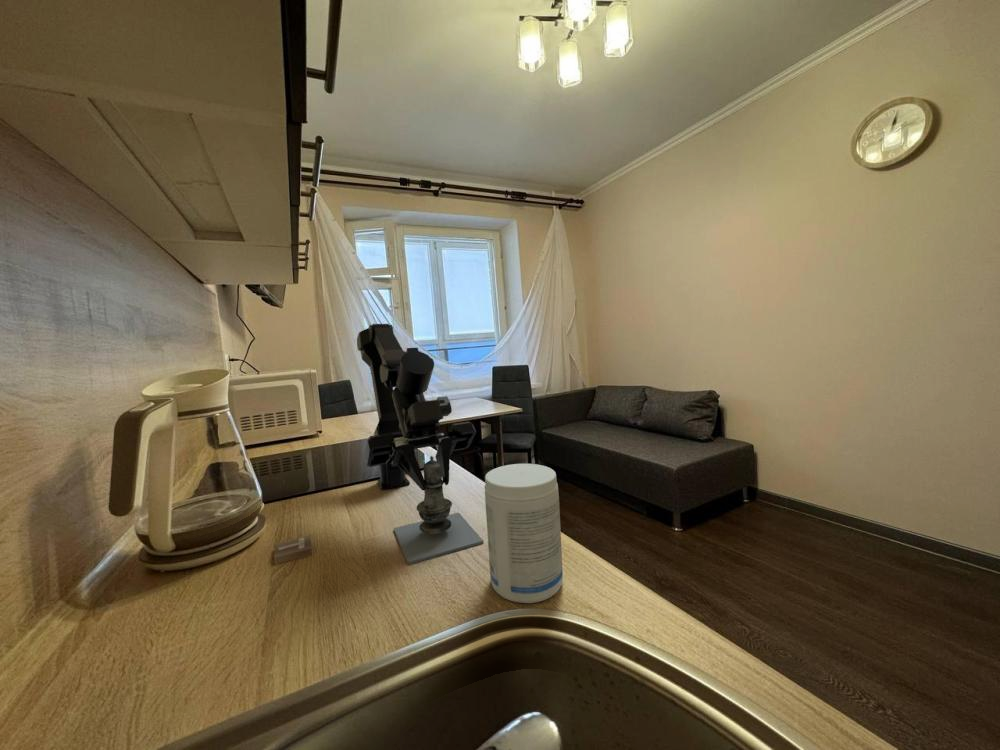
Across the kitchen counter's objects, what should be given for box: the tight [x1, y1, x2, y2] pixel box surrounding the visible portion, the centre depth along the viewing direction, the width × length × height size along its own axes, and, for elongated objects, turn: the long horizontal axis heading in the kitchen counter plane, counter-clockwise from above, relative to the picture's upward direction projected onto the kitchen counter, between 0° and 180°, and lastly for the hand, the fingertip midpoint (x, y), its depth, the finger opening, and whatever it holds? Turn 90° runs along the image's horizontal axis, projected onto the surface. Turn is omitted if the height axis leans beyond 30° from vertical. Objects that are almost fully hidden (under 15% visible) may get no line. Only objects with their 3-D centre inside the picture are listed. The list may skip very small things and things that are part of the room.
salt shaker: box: [415, 455, 453, 534], centre depth 62 cm, size 6×6×12 cm
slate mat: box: [393, 512, 484, 565], centre depth 63 cm, size 12×12×1 cm
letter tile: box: [273, 534, 312, 565], centre depth 60 cm, size 5×5×2 cm
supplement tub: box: [484, 463, 564, 604], centre depth 49 cm, size 10×10×15 cm
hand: (435, 486), depth 61 cm, fingers closed on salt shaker, 4 cm apart
